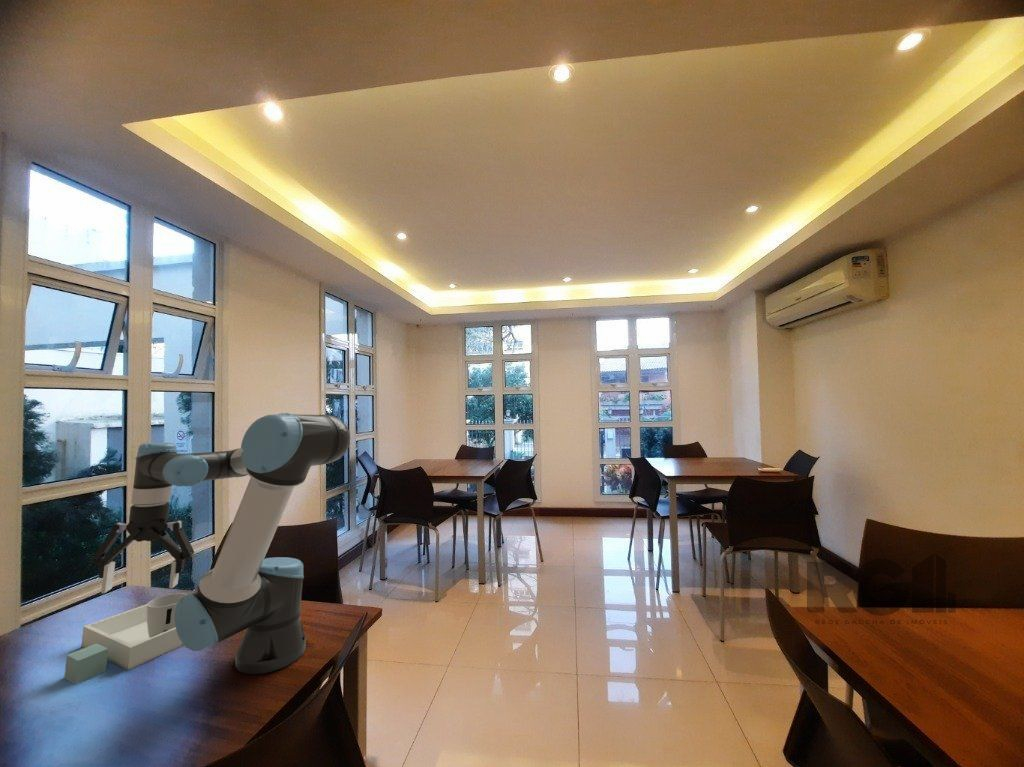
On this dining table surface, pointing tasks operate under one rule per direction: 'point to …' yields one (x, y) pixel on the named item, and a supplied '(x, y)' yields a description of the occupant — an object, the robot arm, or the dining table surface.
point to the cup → (162, 613)
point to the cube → (86, 663)
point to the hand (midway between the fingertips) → (140, 588)
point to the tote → (129, 638)
